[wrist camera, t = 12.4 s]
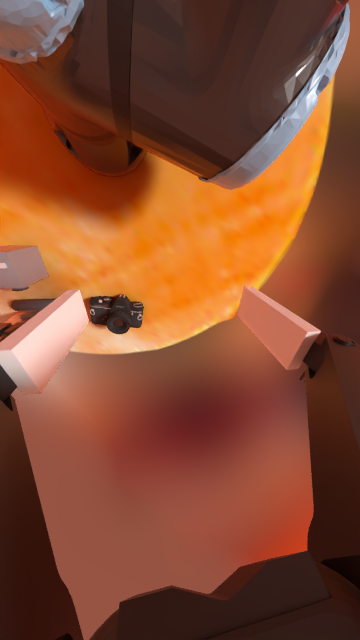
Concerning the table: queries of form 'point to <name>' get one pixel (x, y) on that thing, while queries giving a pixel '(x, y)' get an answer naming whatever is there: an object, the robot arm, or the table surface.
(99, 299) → the film camera
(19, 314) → the breaker panel
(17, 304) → the gray cylinder
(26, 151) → the table surface
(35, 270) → the grey tall block
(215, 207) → the table surface
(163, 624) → the robot arm
